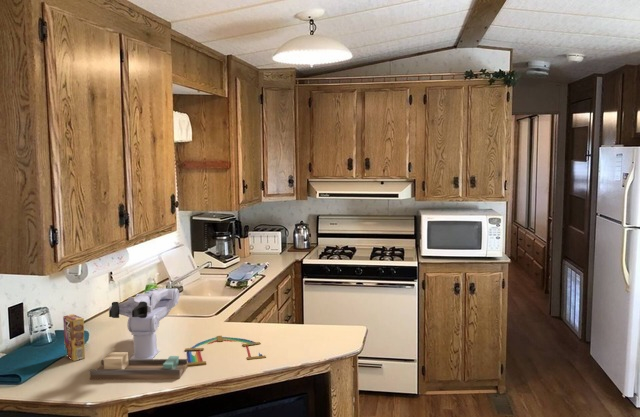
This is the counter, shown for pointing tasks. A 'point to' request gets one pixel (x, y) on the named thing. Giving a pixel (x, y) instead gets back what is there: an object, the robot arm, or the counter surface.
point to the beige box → (116, 360)
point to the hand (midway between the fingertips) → (121, 313)
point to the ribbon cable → (197, 358)
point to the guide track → (144, 369)
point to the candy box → (74, 336)
